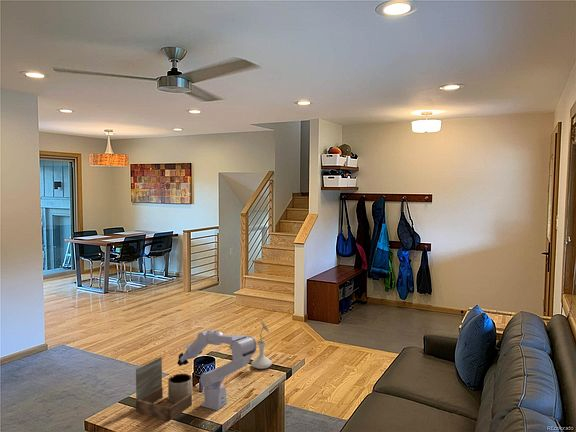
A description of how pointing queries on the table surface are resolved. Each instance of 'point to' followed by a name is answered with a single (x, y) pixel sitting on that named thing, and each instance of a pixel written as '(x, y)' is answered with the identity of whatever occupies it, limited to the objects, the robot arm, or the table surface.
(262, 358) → the flower in vase
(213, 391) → the robot arm
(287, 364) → the table surface
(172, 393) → the planter
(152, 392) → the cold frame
